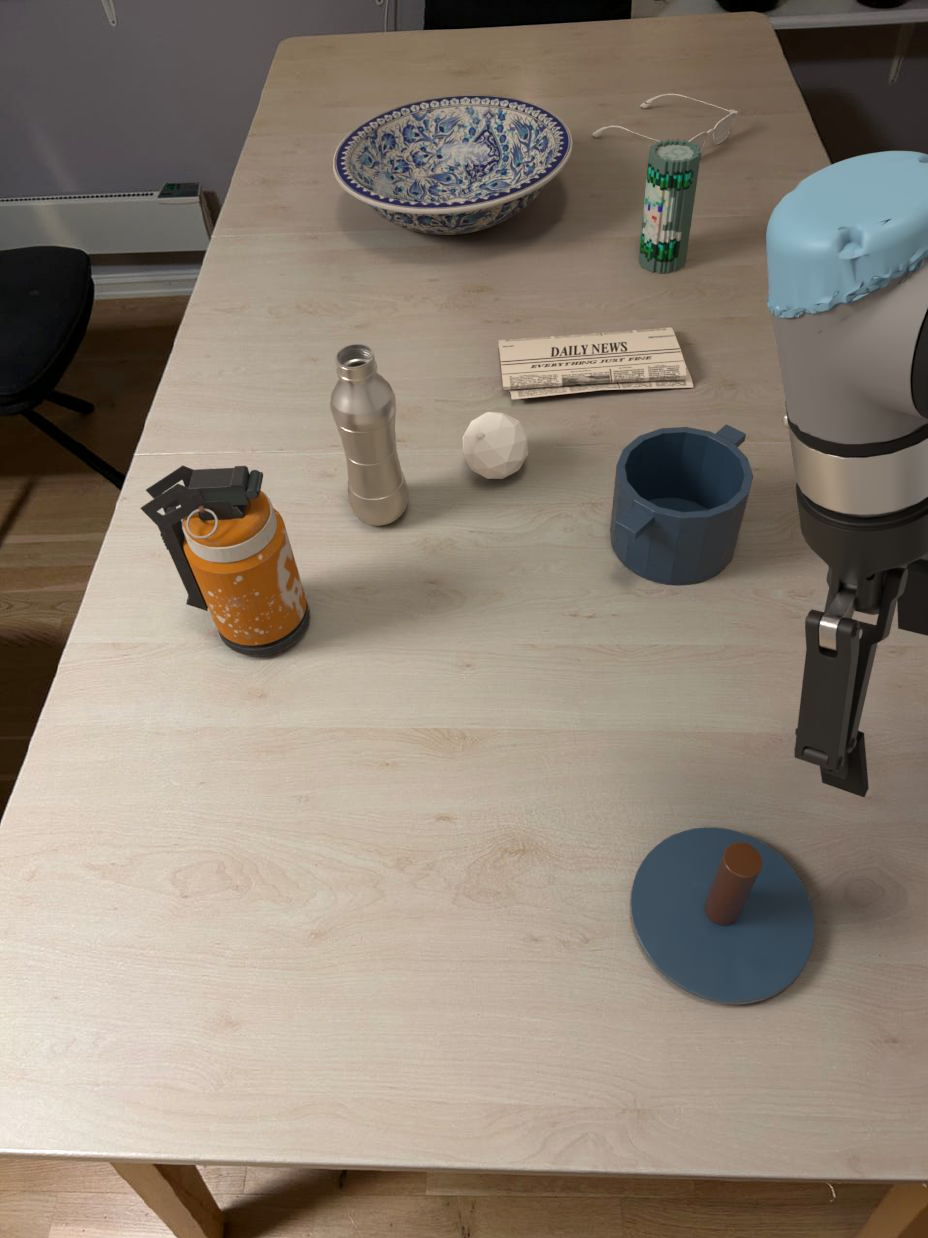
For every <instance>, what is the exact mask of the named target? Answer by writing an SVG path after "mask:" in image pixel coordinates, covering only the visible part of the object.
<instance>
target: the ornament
mask: <svg viewBox="0 0 928 1238" xmlns="http://www.w3.org/2000/svg"><path fill="white" fill-rule="evenodd" d="M461 440H462V441H461V442H462V455H463V457H464V459H465V461H466V462H467V464H468V466H469V468H470V470H471V471H473V472H475V473H476V474H478V475H479V476H482V477H483V478H485V479H490V480H491V479H492V480H504V479H505V478H507V477H509V476H511V475H513V474H515V473H516V472H518V471H520V470H521V468H522V466H523V464H524V463H525V460H526V459H527V457H528V455H529V444H528V436H527V434H526V432H525V430H524V427H523V426H522V422H521V421H520V420H518V419H516V418H514V417H512V416H510V415H508V414H507V413H505V412H495V411H486V412H485V413H483V414H481V415H480V416H478V417H476V418H474V419H472V420H471V421H470V423H469V424H468V427H467V428H466V430H465V431H464V433H463V436H462V439H461Z"/></svg>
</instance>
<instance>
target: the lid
mask: <svg viewBox="0 0 928 1238" xmlns="http://www.w3.org/2000/svg"><path fill="white" fill-rule="evenodd" d="M629 903H630V906H629V907H630V917H631V922H632V926H633V930H634V933H635V935H636V938H637V940H638V943H639V945H640V947H641V950H642V951H643V952H644V954H645V955H646V957H647V958H648V960H649V961H650V963H651V964H652V965H653V966H654V967H655V969H656V970H657V971H658V972H659V973H660V974H662V975H663V976H664V978H666V979H667V980H668V981H669V982H670V983H672V984H674V986H676V987H678V988H679V989H681V990H683V991H685V992H686V993H688V994H690V995H691V996H694V997H696V998H699V999H701V1000H704V1001H709V1002H711V1003H716V1004H722V1005H723V1004H724V1005H749V1004H754V1003H758V1002H761V1001H765V1000H767V999H769V998H772V997H774V996H776V995H777V994H780V992H782V991H784V990H786V988H787V987H789V986H790V985H791V984H792V983H793V982H794V981H795V980H796V979H797V978H798V976H799V975H800V974H801V972H802V971H803V969H804V968H805V966H806V965H807V962H808V960H809V958H810V955H811V953H812V949H813V946H814V941H815V931H816V928H815V927H816V926H815V915H814V910H813V905H812V902H811V899H810V896H809V893H808V891H807V889H806V887H805V886H804V883H803V881H802V880H801V878H800V877H799V875H798V874H797V872H796V871H795V870H794V869H793V867H792V866H791V865H790V864H789V862H787V860H786V859H784V857H783V856H782V855H781V854H780V853H778V852H777V851H775V849H773V848H772V847H770V846H769V845H768V844H765V843H764V841H763V842H762V841H761V840H759V839H757V838H755V837H753V836H751V835H749V834H747V833H743V832H741V831H738V830H735V829H734V830H733V829H729V828H723V827H715V826H714V827H712V826H710V827H709V826H707V827H706V826H704V827H695V828H691V829H687V830H682V831H680V832H677V833H675V834H672V835H670V836H669V837H667V838H665V839H663V840H662V841H661V842H659V843H658V844H656V845H655V846H654V847H653V848H652V849H651V850H650V851H649V852H648V853H647V855H646V856H645V857H644V859H643V860H642V861H641V863H640V864H639V867H638V869H637V871H636V873H635V876H634V879H633V883H632V888H631V892H630V902H629Z"/></svg>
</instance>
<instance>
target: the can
mask: <svg viewBox="0 0 928 1238" xmlns="http://www.w3.org/2000/svg"><path fill="white" fill-rule="evenodd" d="M659 141H660V142H658V141H657V142H656V143H654V144H653V145H651V146H650V148H649V149H648V160H647V171H646V181H645V192H644V200H643V209H642V219H641V220H642V221H641V230H640V231H641V232H640V241H639V251H638V264H639V265H641V268H643V269H645V270H646V271H648V272H651V273H657V274H665V273H666V274H670V273H671V272H673V273H675V272H677V271H678V270H680V269H681V268H684V267H685V264H686V262H687V254H688V248H689V241H690V236H691V235H690V233H691V227H692V221H693V220H692V219H693V214H694V213H693V212H694V206H695V198H696V191H697V183H698V177H699V170H700V163H701V155H702V152H700V151H701V150H700V148H699V147H697V144H694V143H691V142H689V140H686V139H684V140H681V139H678V138H677V139H675V138H674V139H673V138H672V139H666V140H659Z"/></svg>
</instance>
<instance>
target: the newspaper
mask: <svg viewBox="0 0 928 1238" xmlns="http://www.w3.org/2000/svg"><path fill="white" fill-rule="evenodd" d="M497 344H498V345H497V346H498V351H499V359H500V368H501V380H502V381H501V382H502V390H503V391H509V393H510V397H511V400H522V399H529V398H540V397H549V396H558V395H559V396H560V395H568V394H578V393H587V392H599V391H613V390H615V391H616V390H652V389H654V390H655V389H656V390H657V389H658V390H659V389H688V388H689V389H692V388H694V384H693V379H692V377H691V374H690V371H689V369H688V366H687V365H686V362H685V358H684V356H683V352H682V350H681V346H680V344H679V341H678V339H677V336H676V334H675V331H674V329H673V327H659V328H658V327H657V328H645V329H644V328H643V329H632V330H617V331H605V332H604V331H603V332H593V333H592V332H591V333H590V332H589V333H577V334H564V335H562V334H561V335H550V336H549V335H548V336H536V337H535V336H534V337H523V338H511V339H509V338H508V339H498V340H497Z"/></svg>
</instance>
